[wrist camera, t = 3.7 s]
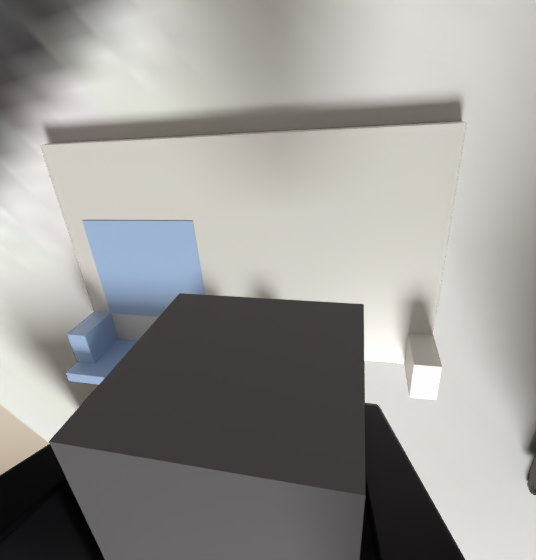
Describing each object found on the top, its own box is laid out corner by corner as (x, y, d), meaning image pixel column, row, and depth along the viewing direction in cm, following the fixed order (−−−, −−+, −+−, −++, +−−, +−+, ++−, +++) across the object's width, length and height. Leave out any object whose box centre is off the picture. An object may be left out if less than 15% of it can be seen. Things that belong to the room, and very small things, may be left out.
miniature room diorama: (461, 121, 15) (494, 132, 11) (424, 365, 21) (438, 425, 17) (51, 143, 20) (-22, 156, 16) (112, 337, 25) (68, 381, 22)
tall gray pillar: (363, 304, 7) (365, 495, 4) (347, 554, 11) (341, 756, 8) (179, 292, 8) (48, 441, 5) (225, 529, 12) (171, 701, 9)
